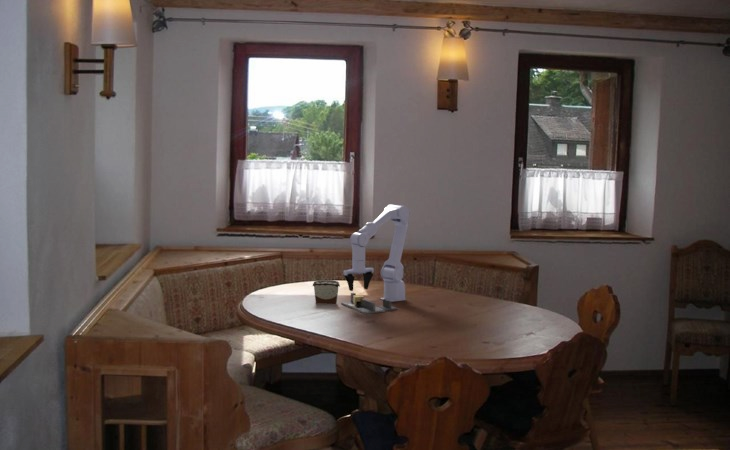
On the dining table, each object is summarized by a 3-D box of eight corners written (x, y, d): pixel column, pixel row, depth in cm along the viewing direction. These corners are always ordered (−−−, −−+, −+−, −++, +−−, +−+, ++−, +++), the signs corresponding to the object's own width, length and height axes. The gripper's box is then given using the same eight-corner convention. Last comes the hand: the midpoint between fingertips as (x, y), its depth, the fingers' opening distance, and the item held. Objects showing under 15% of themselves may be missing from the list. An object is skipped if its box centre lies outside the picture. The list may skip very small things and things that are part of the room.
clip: (353, 302, 346) (353, 295, 345) (361, 302, 347) (361, 294, 346) (354, 304, 342) (354, 297, 342) (363, 304, 343) (363, 296, 342)
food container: (341, 301, 353) (341, 280, 352) (339, 304, 347) (339, 282, 346) (314, 300, 354) (314, 279, 353) (312, 303, 348) (312, 281, 347)
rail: (360, 302, 353) (360, 291, 352) (385, 311, 335) (385, 300, 334) (341, 304, 347) (341, 293, 347) (365, 314, 330) (365, 302, 329)
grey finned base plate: (388, 306, 345) (388, 297, 344) (397, 309, 339) (397, 300, 338) (377, 307, 341) (377, 299, 341) (385, 311, 335) (385, 302, 335)
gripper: (368, 256, 349) (367, 286, 351) (340, 259, 342) (339, 289, 343) (376, 259, 343) (376, 289, 345) (348, 262, 336) (347, 292, 337)
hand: (358, 289), depth 344 cm, fingers open, 7 cm apart
